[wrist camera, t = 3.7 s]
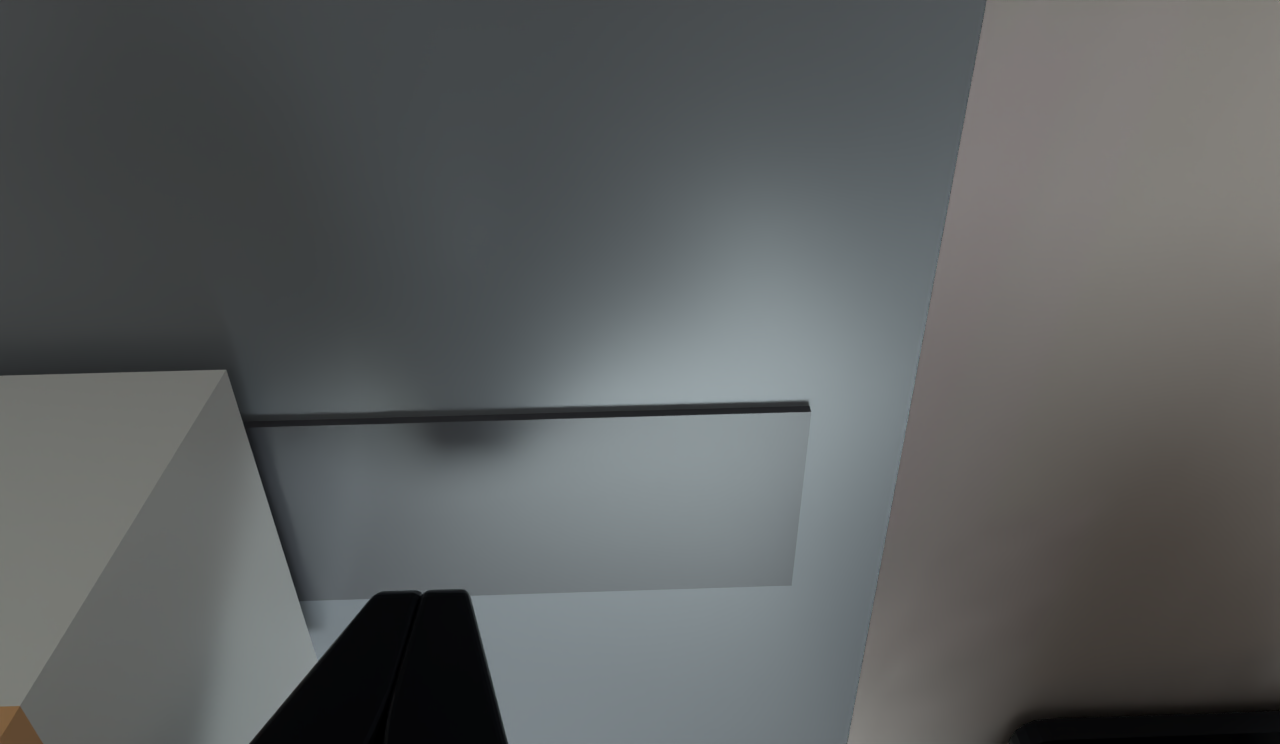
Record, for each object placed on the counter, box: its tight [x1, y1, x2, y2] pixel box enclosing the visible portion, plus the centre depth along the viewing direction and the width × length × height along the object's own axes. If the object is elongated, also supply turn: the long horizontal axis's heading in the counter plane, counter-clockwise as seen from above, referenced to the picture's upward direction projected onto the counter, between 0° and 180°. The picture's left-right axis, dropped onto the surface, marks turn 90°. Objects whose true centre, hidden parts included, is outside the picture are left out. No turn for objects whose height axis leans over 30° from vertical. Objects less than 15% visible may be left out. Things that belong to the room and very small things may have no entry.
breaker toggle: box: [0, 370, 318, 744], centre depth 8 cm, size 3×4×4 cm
